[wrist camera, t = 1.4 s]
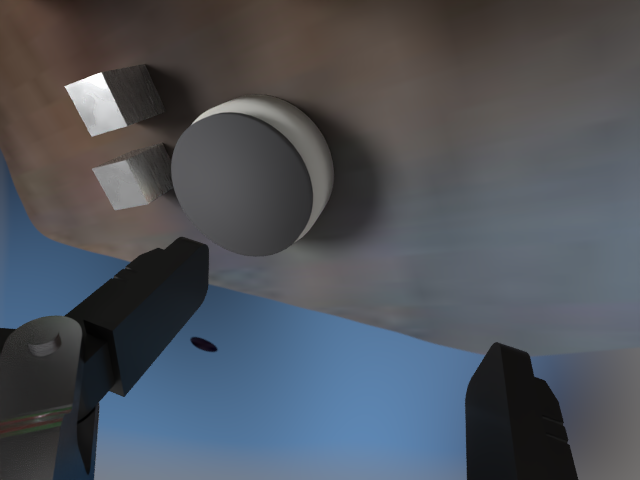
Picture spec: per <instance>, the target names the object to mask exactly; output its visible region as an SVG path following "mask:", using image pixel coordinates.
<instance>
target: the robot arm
mask: <svg viewBox="0 0 640 480" xmlns="http://www.w3.org/2000/svg"><path fill="white" fill-rule="evenodd" d="M208 273H209V248H208V246H207V245H206V244H203V243H200V242H197V241H194V240H191V239H188V238H185V237H179V238H178V239H176V240H175V241H174V242H173V243H172V244H171V245H169V246H168V247H167V248H166V249H165V250H163V249H160V248H157V249H154V250H152V251H149V252H147V253H144V254H142V255H139V256H138V257H137V258H136V259H135V260H133V261H132V262H131V263H130V264H128V265H127V266H126V268H125V269H122V270H121V271H120V272H118V274H116V275H115V276H114V278H113V279H112V278H111V279H110V280H109V281H107V282H106V283H105V284H104V285H103V286H101V287H100V288H99V289H97V290H96V291H95V292H94V293H92V294H91V295H90V296H89V297H87V298H86V299H85V300H84V301H83V302H81V303H80V304H79V305H78V306H76V307H75V308H74V309H73V310H71V311H70V312H69V313H68V314H66V315H65V316H47V317H42V318H38V319H35V320H32V321H30V322H28V323H26V324H24V325H22V326H20V327H19V328H17V329H6V328H0V480H94V473H95V460H96V447H97V433H98V420H99V401H100V400H101V399H102V398H103V397H104V396H105V395H106V393H107V392H108V391H111V392H113V393H116V394H118V395H121V396H123V397H125V396H126V394H127V393H128V392H129V390H131V388H132V387H133V386H134V385H135V383H136V382H137V381H138V380H139V379H140V377H141V376H142V375H143V374H144V373H145V372H146V370H147V369H148V368H149V367H150V366H151V364H152V363H153V362H154V361H155V360H156V358H157V357H158V356H159V355H160V354H161V352H162V351H163V350H164V349H165V348H166V346H167V345H168V344H169V343H170V342H171V340H172V339H173V338H174V337H175V336H176V334H177V333H178V332H179V331H180V329H181V328H182V327H183V326H184V325H185V324H186V323H187V321H188V320H189V319H190V318H191V317H192V315H193V314H194V313H195V311H196V310H197V309H198V308H199V307H200V305H201V304H202V303H203V301H204V299H205V296H206V293H207V290H208ZM465 414H466V456H467V457H466V458H467V480H578V477H577V473H576V469H575V465H574V461H573V457H572V453H571V449H570V445H569V444H567V442H568V437H567V433H566V430H565V427H564V426H563V423H564V422H563V418H562V414H561V410H560V406H559V402H558V400H557V399H556V397H555V395H554V394H553V392H552V391H551V389H550V388H549V386H548V384H547V383H546V381H544V380H542V379H539V378H536V377H534V374H533V369H532V364H531V359H530V356H529V354H528V353H527V352H525V351H522V350H519V349H516V348H513V347H510V346H507V345H504V344H501V343H498V342H496V343H494V344H493V345H492V346H491V347H490V349H489V351H488V352H487V354H486V355H485V357H484V359H483V360H482V362H481V364H480V365H479V367H478V368H477V370H476V372H475V373H474V375H473V376H472V378H471V380H470V382H469V385H468V388H467V392H466V399H465Z"/></svg>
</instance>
